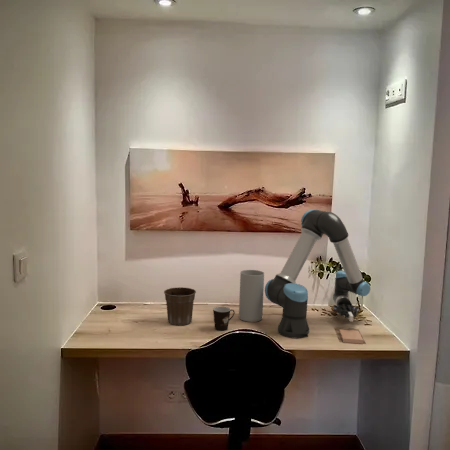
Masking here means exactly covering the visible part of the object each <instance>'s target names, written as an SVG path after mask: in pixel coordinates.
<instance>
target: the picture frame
mask: <svg viewBox="0 0 450 450" xmlns="http://www.w3.org/2000/svg"><path fill="white" fill-rule="evenodd" d="M359 331H360V330H359ZM359 331H356V330H341V329H339V334H340V336H341V339H342V341H343V342H342V343H348V344H361V345H362V344H363V339H364V338H363V339H362V337H363V336H362V337H361V335H362V334H361V335H360V333H361V332H360V333H359Z"/></svg>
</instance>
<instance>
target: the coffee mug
mask: <svg viewBox="0 0 450 450" xmlns="http://www.w3.org/2000/svg"><path fill="white" fill-rule="evenodd" d="M212 309H213V310H212V311H213V321H214V322H213V324H214V330H215V331H217V332H219V331H220V332H224V331H225V332H226V331H228V329H229V322H230V321H231V320H232V319H233V318H234V316H235V313H236V312H235V310H234V309H231V308H230V307H227V306H216V307H214V308H212ZM232 311H233V312H232ZM231 312H232V316H231Z"/></svg>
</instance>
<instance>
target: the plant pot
mask: <svg viewBox="0 0 450 450" xmlns="http://www.w3.org/2000/svg"><path fill="white" fill-rule="evenodd" d="M196 293H197V290H195V289H194V288H190V287H171V288H166V289H165V290H164V291H163V294H164V299H165V303H166V314H167V323H168V324H170V325H172V326H179V325H181V326H187V325H189V324H191V323H192V321H193V311H194V301H195V297H196V296H195V295H196Z"/></svg>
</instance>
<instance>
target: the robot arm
mask: <svg viewBox="0 0 450 450" xmlns="http://www.w3.org/2000/svg"><path fill="white" fill-rule="evenodd" d="M300 222H301V224H300V225H301V227H300V231H301V234H300V235H299V238H298V240H297V241H296V243H295V245H294V247H293V249H292V251H291V252H290V255H289V257H288V258H287V260H286V261H285V264H284V266H283V267H282V269H281V271H280V272H279V273H276V274H275V276H274V278H272V279H269V280H268V281H267V282H266V284H265V285H264V293H265V297H266V298H267V300H268V301H269V302H271V303H273V304H274V305H275V304H276V305H277V306H279V307H281V308H282V317H281V319H280V322H279V324H278V328H277V333H278V334H280V335H281V336H283V337H286V338H291V339H302V338H303V339H304V338H307V337H308V336H309V333H310V326H309V324H308V321H307V320H308V319H307V314H308V313H307V312H308V311H307V310H308V299H309V296H308V295H309V294H308V293H309V291H308V289H307V287H305V286H303V285H302V284H300V283H299V284H298V283H296V280H297V278H298V276H299V275H300V273H301V271H302V269H303V267H304V265H305V263H306V261H307V260H308V257H309V256H310V254H311V252H312V250H313V248H314V247H315V245H316V242H318V241H319V240H321V239H322V237H323V235H325V236H327V237H328V240H329V242H331V243H332V244H333V247H334V249H335V251H336V254H337V257H338V259H339V262H340V265H341V267H342V269H343V270H338V271H336V272H335V277H334V279H335V280H334V293H333V295H332V299H333V302H334V305H333V311H335V312H337V313H338V315H340V316H341V317H344V318H345V319H348V320H349V322H354V318H355V317H357V315H358V313H359V312H360V311H359V308H360V307H359V306H354V305H353V304H352V302H351V300H350V299H349V292H350V293H353V294H355V295H357V296H361V297H366V296H368V295H369V294H370V291H371V286H370V284H369V282H367V281H365V280H364V278H363V275H362V273H361V270H360V267H359V265H358V262H357V260H356V257H355V255H354V252H353V249H352V246H351V244H350V241H349V233H348V230H347V228H346V226H345V224H344V222H343V221H342V219H341V218H340V216H338V215H337V214H335V213H334V212H332V211H326V210H325V211H324V210H320V209H309V210H307V211H306V212H305V213H303V215H302V217H301V221H300Z"/></svg>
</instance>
